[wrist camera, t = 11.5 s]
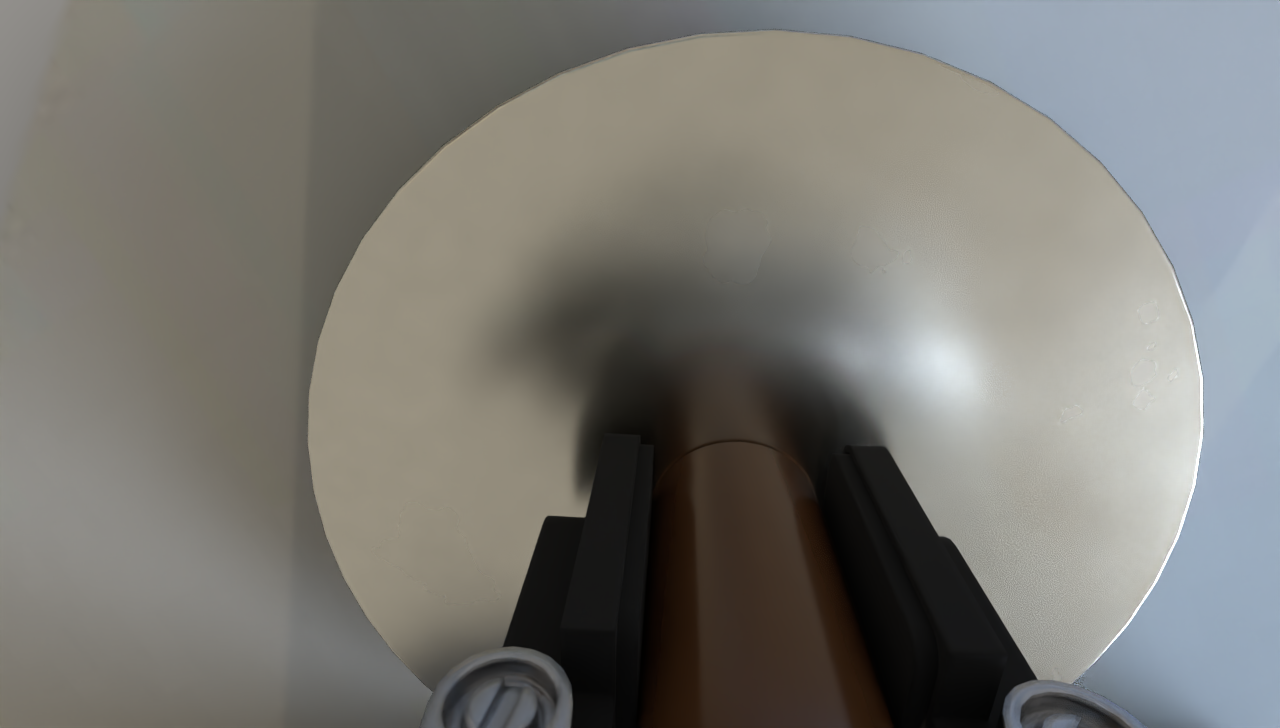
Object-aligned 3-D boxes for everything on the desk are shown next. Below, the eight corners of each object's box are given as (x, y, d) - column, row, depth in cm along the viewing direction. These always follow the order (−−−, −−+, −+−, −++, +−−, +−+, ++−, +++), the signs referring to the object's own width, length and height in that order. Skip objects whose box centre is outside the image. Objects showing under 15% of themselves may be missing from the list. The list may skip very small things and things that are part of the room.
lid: (1349, 362, 10) (2245, 714, 4) (809, 833, 15) (890, 1299, 9) (577, -194, 8) (317, -931, 2) (240, 559, 13) (-119, 935, 7)
